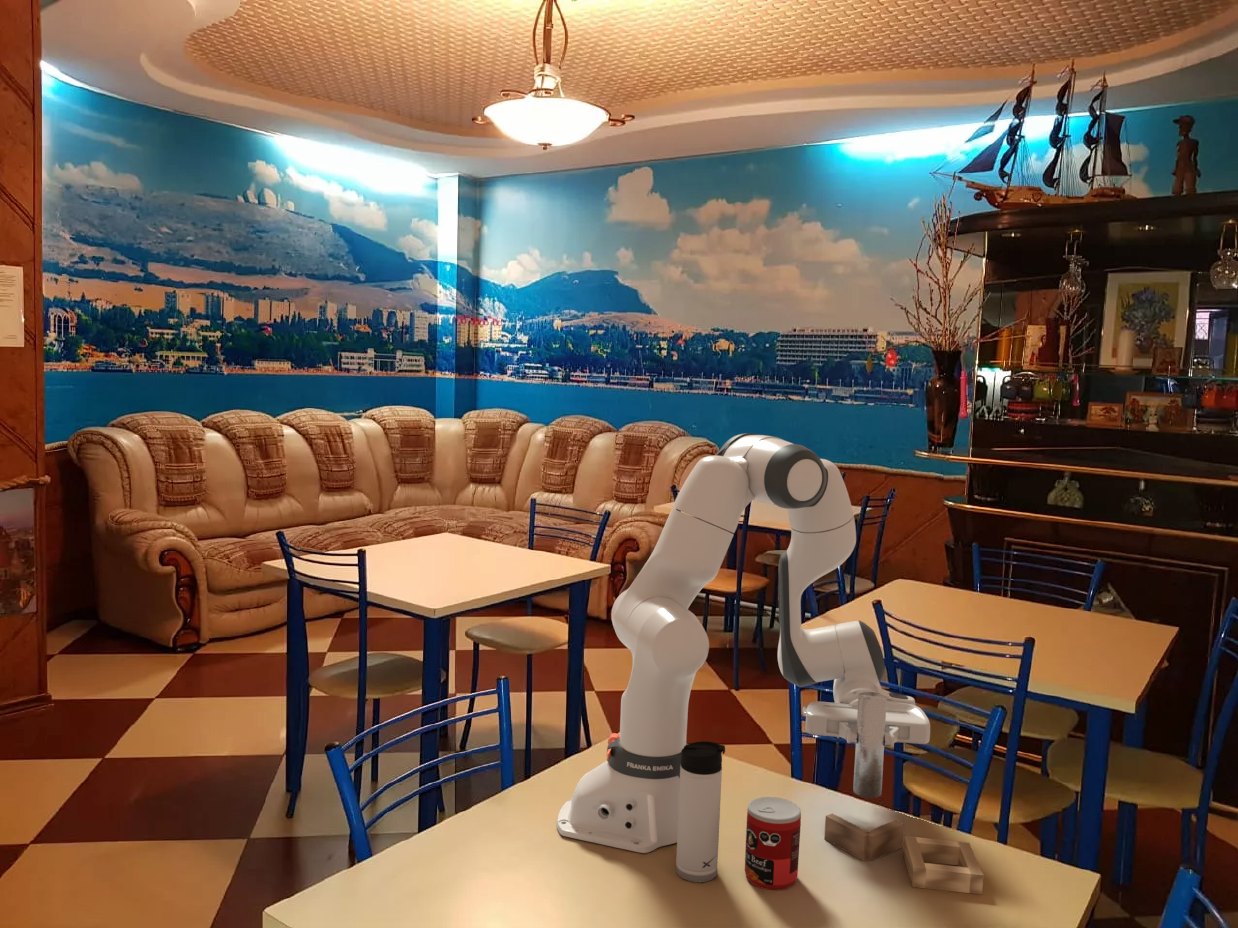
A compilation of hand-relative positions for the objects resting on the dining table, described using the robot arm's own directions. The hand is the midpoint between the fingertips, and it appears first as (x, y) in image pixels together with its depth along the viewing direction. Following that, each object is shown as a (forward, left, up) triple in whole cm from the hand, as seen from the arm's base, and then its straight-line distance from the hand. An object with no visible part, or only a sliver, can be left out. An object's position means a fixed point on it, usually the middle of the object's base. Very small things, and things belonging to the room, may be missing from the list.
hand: (870, 740), depth 151 cm
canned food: (-15, -13, -18) cm, 27 cm away
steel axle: (0, +1, -9) cm, 9 cm away
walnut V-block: (0, -1, -18) cm, 18 cm away
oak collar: (+11, -6, -18) cm, 22 cm away
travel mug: (-26, -14, -18) cm, 35 cm away
